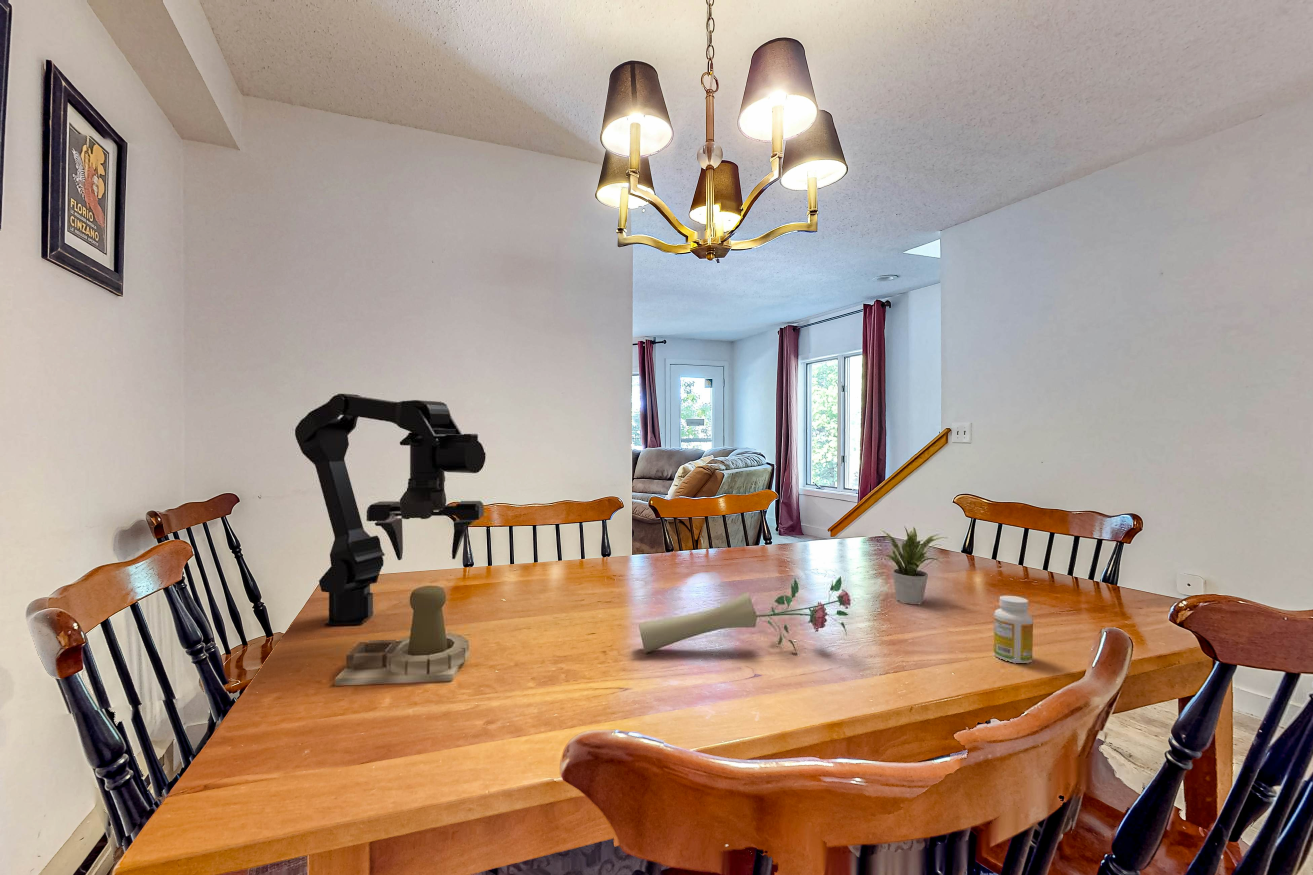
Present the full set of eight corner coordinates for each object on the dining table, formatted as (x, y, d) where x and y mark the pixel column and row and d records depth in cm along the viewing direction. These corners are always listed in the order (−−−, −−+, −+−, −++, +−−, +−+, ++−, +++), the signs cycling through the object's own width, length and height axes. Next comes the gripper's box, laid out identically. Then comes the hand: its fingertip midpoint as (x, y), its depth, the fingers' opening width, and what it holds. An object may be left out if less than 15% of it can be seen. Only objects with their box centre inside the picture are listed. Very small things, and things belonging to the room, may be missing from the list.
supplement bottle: (1027, 654, 96) (1028, 595, 96) (1036, 666, 91) (1037, 605, 91) (990, 649, 98) (991, 592, 98) (997, 661, 93) (998, 601, 93)
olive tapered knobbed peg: (420, 669, 85) (421, 595, 85) (398, 659, 89) (398, 588, 88) (456, 657, 90) (457, 586, 90) (434, 648, 93) (434, 579, 93)
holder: (334, 685, 82) (334, 664, 82) (366, 652, 94) (366, 634, 94) (458, 680, 84) (458, 659, 84) (474, 649, 96) (474, 631, 96)
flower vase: (652, 687, 99) (844, 636, 103) (655, 698, 87) (872, 640, 91) (636, 617, 102) (823, 570, 106) (637, 618, 90) (847, 565, 94)
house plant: (964, 613, 117) (965, 533, 117) (895, 612, 117) (896, 532, 117) (931, 593, 132) (933, 521, 131) (870, 592, 132) (871, 521, 131)
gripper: (353, 475, 94) (353, 571, 94) (473, 475, 96) (472, 569, 96) (378, 470, 105) (377, 556, 105) (484, 470, 107) (484, 554, 107)
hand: (427, 559), depth 103 cm, fingers open, 9 cm apart
